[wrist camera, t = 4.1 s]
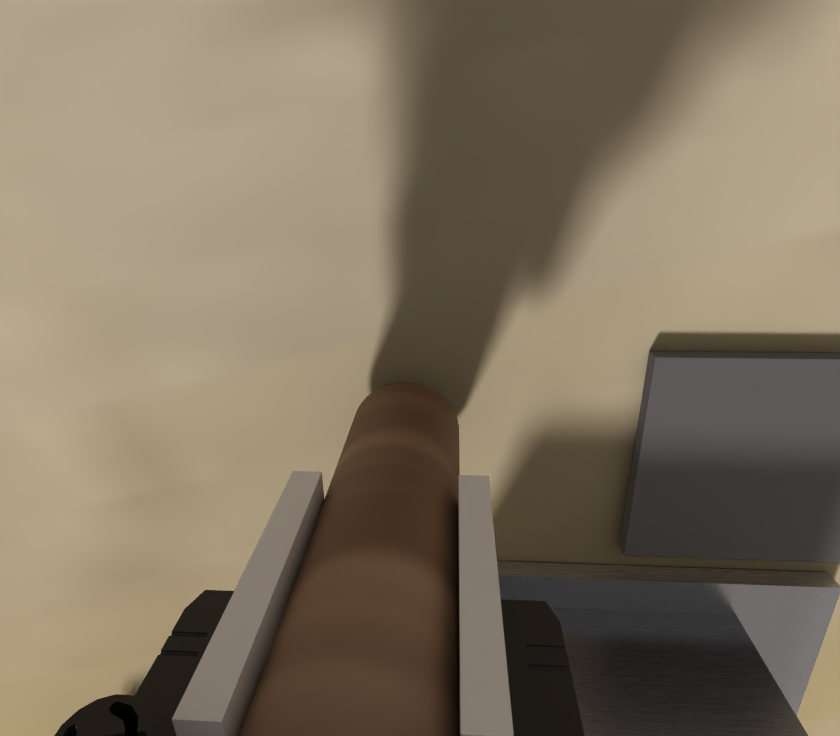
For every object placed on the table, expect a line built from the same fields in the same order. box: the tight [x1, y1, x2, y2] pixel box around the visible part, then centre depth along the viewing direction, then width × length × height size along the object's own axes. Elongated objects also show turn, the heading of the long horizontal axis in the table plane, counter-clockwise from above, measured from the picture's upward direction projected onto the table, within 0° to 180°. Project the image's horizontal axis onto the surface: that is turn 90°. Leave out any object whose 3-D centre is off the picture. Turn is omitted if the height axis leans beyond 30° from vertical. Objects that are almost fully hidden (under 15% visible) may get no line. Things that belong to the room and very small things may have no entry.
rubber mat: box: [620, 351, 840, 563], centre depth 19 cm, size 8×8×1 cm
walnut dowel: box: [239, 383, 460, 736], centre depth 11 cm, size 4×4×16 cm
